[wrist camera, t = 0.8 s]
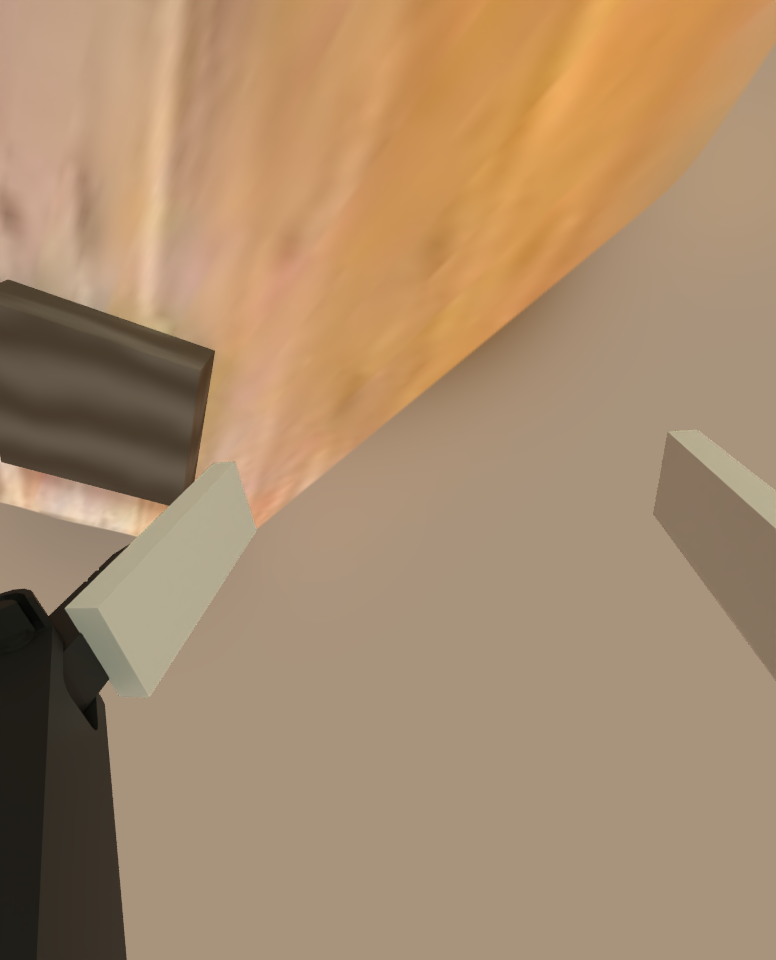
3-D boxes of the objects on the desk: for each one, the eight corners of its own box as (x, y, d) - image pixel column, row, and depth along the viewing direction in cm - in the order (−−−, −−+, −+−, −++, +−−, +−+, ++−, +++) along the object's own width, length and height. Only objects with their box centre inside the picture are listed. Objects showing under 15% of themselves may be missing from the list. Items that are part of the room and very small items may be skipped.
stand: (8, 279, 35) (-29, 294, 32) (214, 350, 39) (200, 370, 36) (28, 438, 45) (1, 461, 41) (193, 483, 48) (180, 508, 45)
